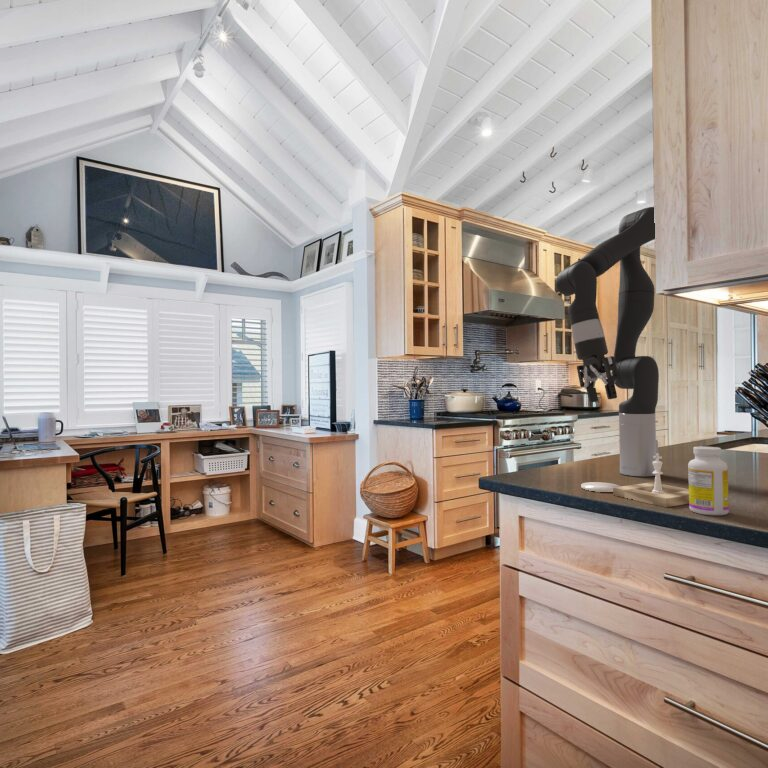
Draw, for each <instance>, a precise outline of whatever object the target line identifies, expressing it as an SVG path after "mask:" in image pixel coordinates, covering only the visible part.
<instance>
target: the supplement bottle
mask: <svg viewBox="0 0 768 768" xmlns="http://www.w3.org/2000/svg"><path fill="white" fill-rule="evenodd" d="M692 452H693V454H694V459H693V458H692V459H691V460H689V462H688V464H687V466H688V468H687V469H688V470H687V471H688V472H687V473H688V476H687V477H688V489H689V503H688V504H689V506H688V507H689V510H690V511H691V512H693V513H696V514H699V515H705V516H718V517H719V516H726V515H727V514H729V512H730V511H729V510H730V504H729V502H730V501H729V499H730V498H729V473H728V472H729V470H728V469H729V467H728V464H727V463H726V462H725V461H724V460H722V459H721V456H722V448H721V447H719V446H718V447H717V446H702V445H701V446H693V451H692Z"/></svg>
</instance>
